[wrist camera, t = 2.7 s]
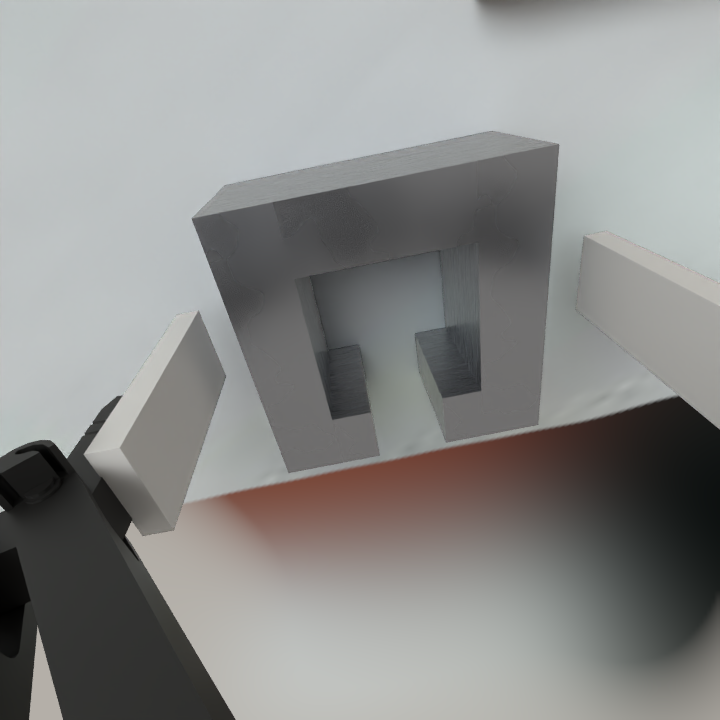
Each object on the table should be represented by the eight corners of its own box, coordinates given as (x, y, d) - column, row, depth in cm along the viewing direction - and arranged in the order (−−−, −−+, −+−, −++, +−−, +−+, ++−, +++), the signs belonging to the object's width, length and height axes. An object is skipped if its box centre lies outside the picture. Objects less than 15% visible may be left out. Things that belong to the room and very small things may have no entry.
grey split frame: (492, 357, 19) (538, 424, 15) (293, 396, 19) (288, 473, 15) (492, 131, 14) (559, 144, 10) (224, 185, 14) (191, 218, 10)
